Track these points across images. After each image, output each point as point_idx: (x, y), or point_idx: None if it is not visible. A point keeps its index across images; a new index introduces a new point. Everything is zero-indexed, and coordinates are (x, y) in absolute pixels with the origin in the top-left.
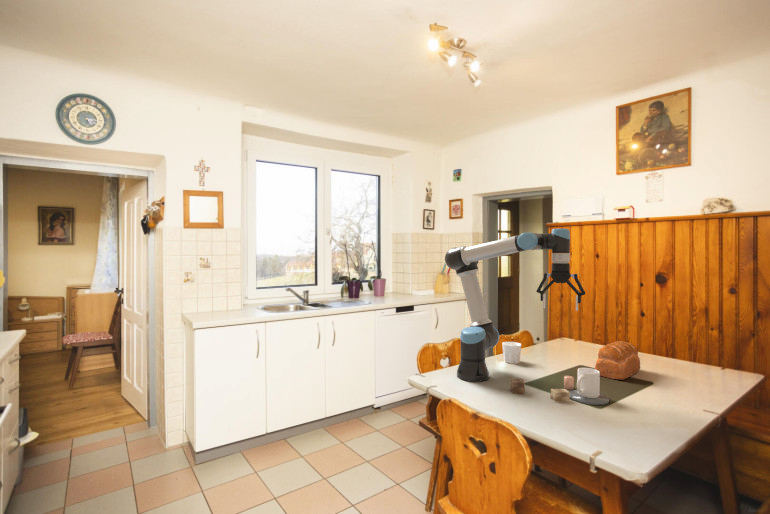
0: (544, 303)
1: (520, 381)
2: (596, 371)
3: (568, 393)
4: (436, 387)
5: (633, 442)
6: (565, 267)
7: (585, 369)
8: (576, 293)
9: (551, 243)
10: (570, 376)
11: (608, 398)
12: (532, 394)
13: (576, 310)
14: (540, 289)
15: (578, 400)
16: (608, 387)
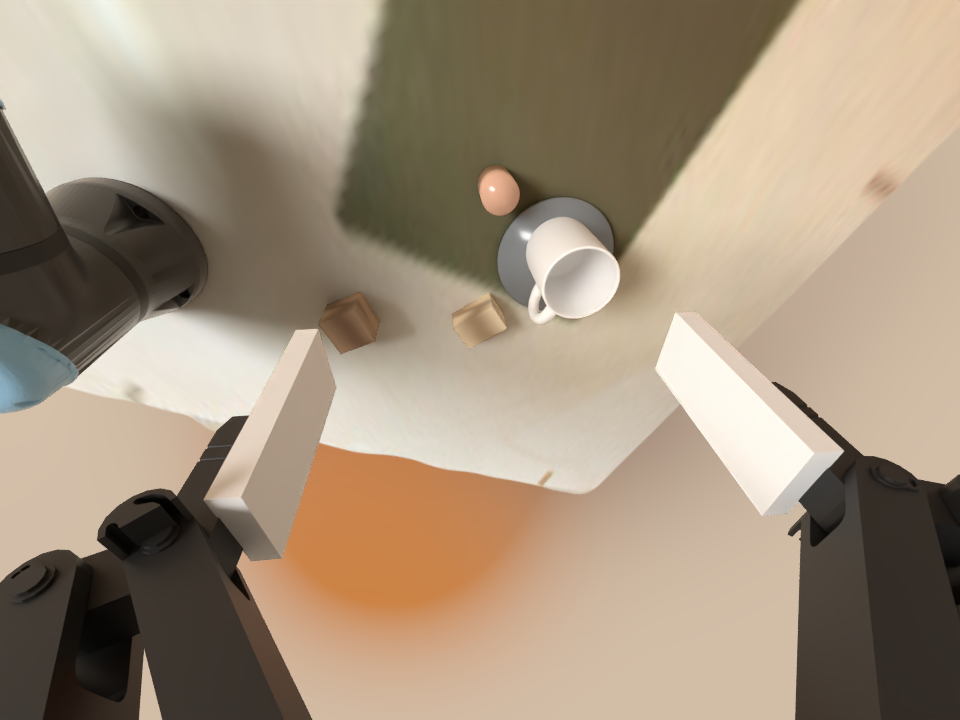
0: (318, 433)
1: (358, 336)
2: (611, 259)
3: (503, 328)
4: (149, 395)
5: (605, 431)
6: None
7: (572, 248)
8: (806, 557)
9: None
10: (506, 183)
11: (613, 248)
12: (399, 311)
13: (664, 370)
14: (76, 634)
15: (526, 306)
16: (647, 76)
